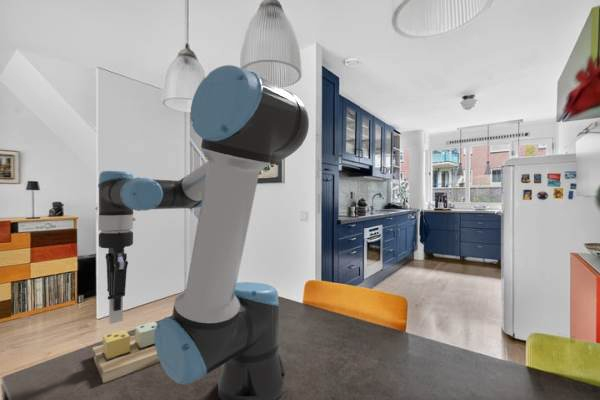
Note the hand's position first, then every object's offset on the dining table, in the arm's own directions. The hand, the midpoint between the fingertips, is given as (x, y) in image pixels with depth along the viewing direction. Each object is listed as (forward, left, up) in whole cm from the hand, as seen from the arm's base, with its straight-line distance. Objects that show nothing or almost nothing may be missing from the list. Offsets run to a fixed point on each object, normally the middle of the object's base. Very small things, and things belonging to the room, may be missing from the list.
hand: (115, 321), depth 74 cm
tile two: (0, -8, -8) cm, 11 cm away
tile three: (0, 0, -8) cm, 8 cm away
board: (0, -8, -11) cm, 13 cm away
